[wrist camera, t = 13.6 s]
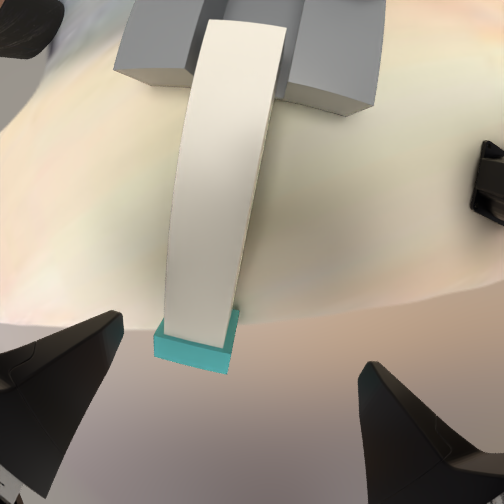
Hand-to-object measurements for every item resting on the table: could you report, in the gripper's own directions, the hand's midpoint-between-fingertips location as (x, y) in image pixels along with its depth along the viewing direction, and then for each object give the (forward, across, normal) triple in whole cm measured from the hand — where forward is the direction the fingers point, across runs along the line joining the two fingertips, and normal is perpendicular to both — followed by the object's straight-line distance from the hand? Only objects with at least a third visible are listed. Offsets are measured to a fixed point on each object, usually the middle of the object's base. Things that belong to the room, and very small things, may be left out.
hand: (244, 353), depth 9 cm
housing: (+12, +3, -16) cm, 20 cm away
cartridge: (+11, +3, -3) cm, 12 cm away
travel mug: (+12, +26, -18) cm, 34 cm away
